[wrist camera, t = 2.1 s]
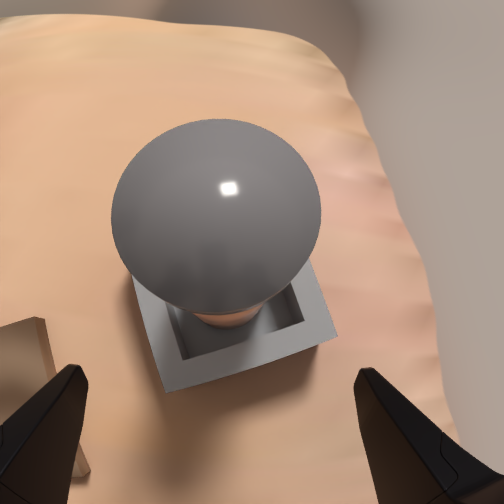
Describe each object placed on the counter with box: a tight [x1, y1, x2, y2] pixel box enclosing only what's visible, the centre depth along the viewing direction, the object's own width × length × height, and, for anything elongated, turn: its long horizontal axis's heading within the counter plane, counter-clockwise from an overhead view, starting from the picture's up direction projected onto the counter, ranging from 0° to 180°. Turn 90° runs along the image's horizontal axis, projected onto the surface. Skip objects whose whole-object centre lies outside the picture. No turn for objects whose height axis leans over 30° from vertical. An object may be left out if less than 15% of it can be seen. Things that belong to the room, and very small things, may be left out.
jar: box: [111, 119, 321, 330], centre depth 14 cm, size 6×6×13 cm
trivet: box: [0, 317, 91, 477], centre depth 17 cm, size 12×12×2 cm
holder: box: [132, 258, 338, 393], centre depth 20 cm, size 10×10×4 cm
